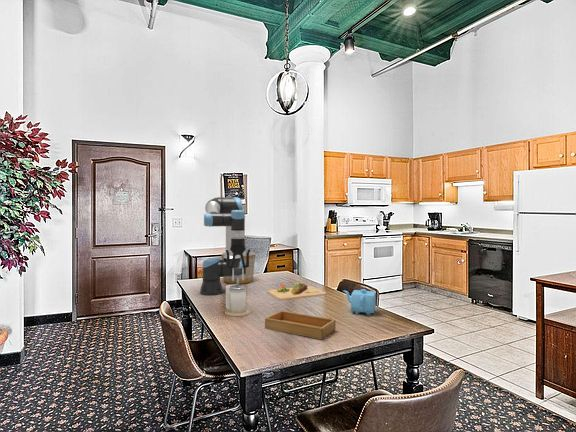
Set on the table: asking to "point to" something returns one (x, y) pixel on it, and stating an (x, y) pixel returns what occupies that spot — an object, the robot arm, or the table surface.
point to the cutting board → (296, 292)
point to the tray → (300, 324)
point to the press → (236, 303)
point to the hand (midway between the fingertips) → (237, 279)
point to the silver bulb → (237, 287)
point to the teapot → (362, 301)
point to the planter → (249, 270)
